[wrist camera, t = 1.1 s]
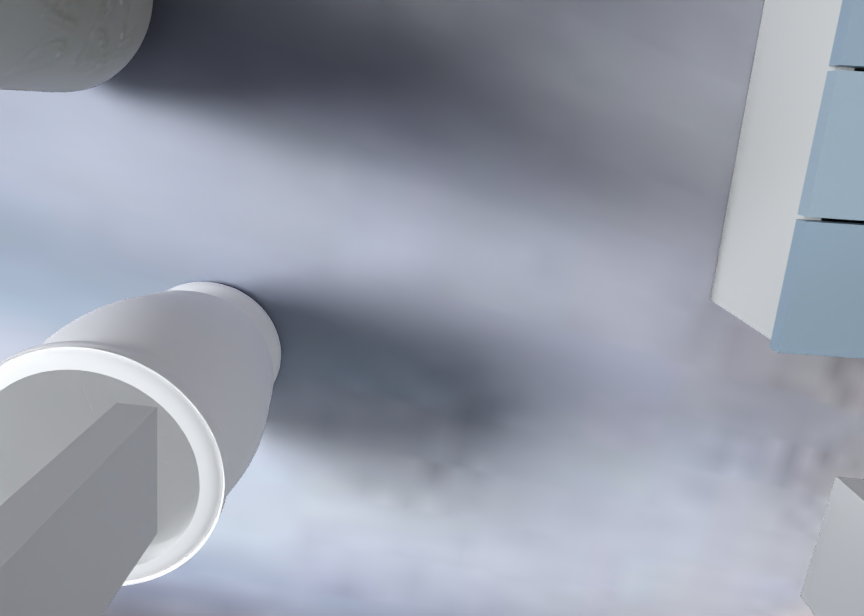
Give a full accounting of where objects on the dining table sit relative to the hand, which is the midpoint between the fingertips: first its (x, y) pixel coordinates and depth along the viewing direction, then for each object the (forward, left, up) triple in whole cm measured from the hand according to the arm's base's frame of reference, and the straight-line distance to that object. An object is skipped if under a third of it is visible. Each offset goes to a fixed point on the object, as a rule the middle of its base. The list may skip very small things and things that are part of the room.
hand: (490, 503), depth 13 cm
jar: (+7, -14, -27) cm, 31 cm away
